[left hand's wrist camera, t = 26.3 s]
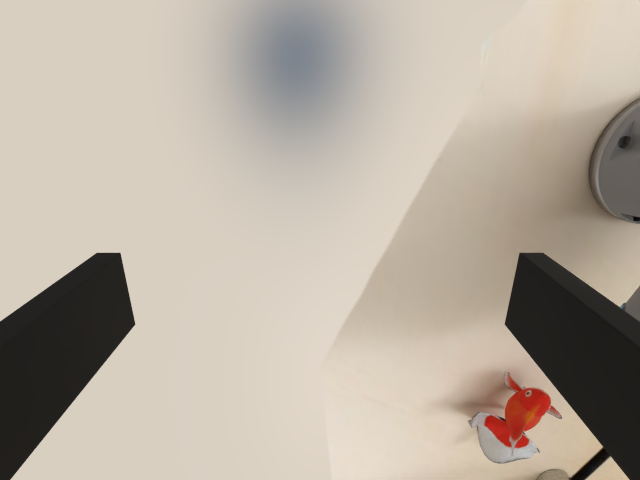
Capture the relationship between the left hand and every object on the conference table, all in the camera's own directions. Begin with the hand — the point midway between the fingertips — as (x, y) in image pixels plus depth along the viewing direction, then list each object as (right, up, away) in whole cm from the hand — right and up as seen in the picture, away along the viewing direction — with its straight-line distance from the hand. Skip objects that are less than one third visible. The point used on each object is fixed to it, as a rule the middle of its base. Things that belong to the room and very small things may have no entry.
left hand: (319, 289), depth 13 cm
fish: (+27, -23, +45) cm, 57 cm away
